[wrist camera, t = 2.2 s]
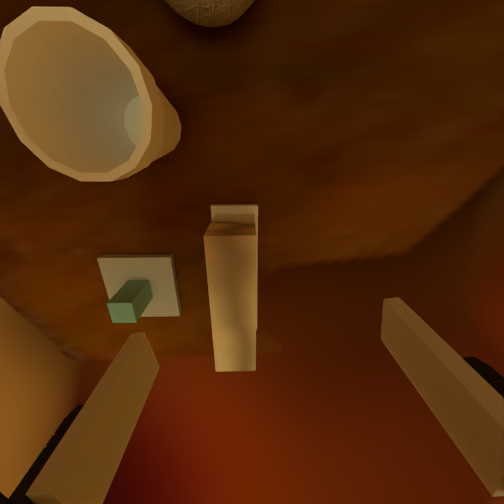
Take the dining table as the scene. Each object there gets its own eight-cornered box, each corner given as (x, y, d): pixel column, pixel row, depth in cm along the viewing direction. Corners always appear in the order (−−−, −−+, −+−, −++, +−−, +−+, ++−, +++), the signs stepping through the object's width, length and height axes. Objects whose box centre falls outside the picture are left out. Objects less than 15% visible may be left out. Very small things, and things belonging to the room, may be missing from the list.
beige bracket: (220, 325, 38) (217, 346, 34) (211, 204, 30) (206, 212, 26) (256, 324, 38) (257, 346, 34) (257, 204, 30) (259, 212, 26)
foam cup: (165, 58, 24) (85, -34, 12) (209, 146, 27) (180, 142, 16) (93, 104, 26) (-43, 62, 14) (143, 182, 29) (70, 203, 17)
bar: (220, 341, 34) (215, 371, 29) (211, 221, 26) (203, 236, 22) (254, 340, 34) (255, 370, 29) (254, 220, 27) (256, 235, 22)
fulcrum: (118, 311, 37) (92, 344, 31) (101, 254, 33) (68, 278, 27) (181, 311, 37) (168, 343, 31) (173, 253, 33) (155, 277, 27)
